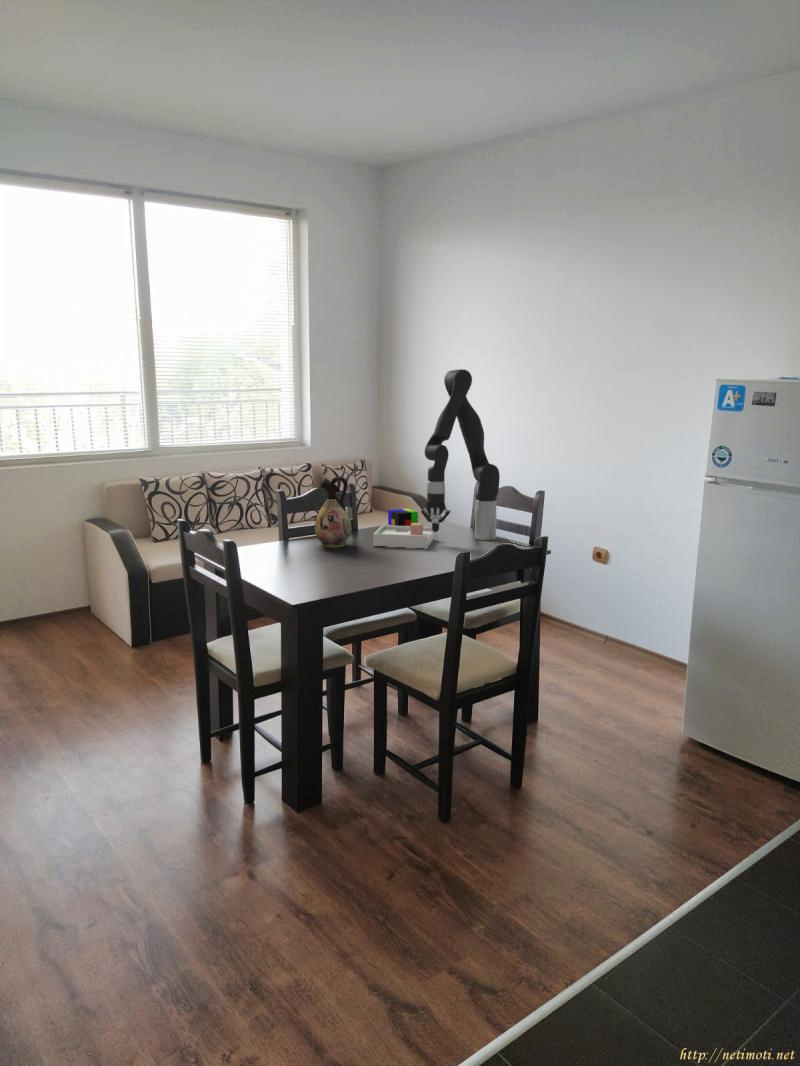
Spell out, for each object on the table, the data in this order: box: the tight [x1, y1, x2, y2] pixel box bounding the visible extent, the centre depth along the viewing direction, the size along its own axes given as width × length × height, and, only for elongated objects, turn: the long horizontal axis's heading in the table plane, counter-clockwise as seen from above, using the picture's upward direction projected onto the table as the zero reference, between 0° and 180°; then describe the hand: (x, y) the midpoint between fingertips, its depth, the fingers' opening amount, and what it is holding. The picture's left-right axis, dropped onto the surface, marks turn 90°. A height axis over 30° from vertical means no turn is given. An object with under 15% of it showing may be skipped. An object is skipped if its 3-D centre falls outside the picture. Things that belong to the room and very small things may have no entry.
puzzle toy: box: [387, 508, 419, 526], centre depth 349 cm, size 10×10×10 cm
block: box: [410, 522, 424, 535], centre depth 327 cm, size 4×4×4 cm
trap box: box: [372, 524, 435, 550], centre depth 329 cm, size 23×18×6 cm
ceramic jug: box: [314, 475, 352, 549], centre depth 321 cm, size 17×15×30 cm
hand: (435, 531), depth 325 cm, fingers closed
